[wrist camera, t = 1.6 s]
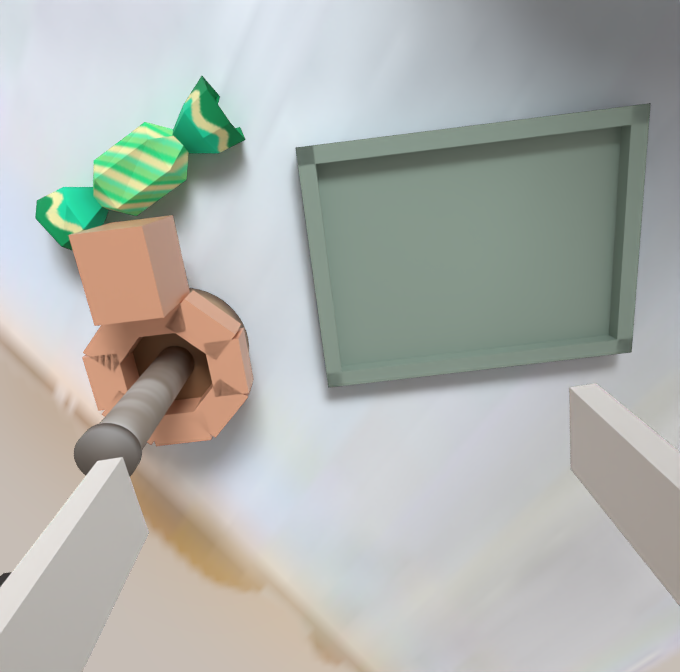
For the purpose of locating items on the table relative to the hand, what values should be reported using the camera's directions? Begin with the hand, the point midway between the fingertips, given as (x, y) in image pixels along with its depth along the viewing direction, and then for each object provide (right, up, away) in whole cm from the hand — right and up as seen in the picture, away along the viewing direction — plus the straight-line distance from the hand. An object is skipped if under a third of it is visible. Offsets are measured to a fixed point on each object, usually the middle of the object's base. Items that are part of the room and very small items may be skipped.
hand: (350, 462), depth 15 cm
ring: (-11, +4, +16) cm, 19 cm away
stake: (-10, +3, +19) cm, 22 cm away
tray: (+8, +9, +18) cm, 21 cm away
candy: (-12, +14, +16) cm, 24 cm away
